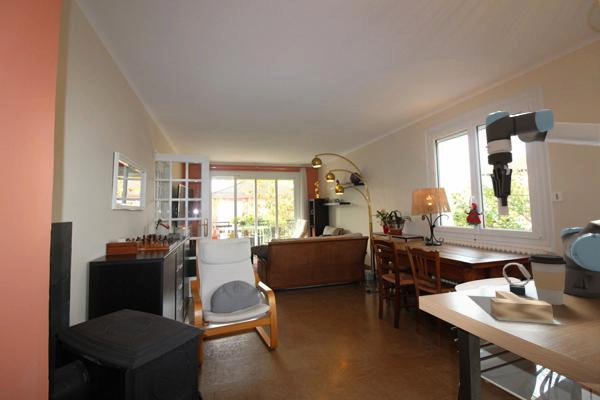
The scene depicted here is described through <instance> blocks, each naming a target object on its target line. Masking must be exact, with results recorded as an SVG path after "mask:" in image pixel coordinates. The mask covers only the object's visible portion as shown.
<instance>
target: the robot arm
mask: <svg viewBox="0 0 600 400" xmlns="http://www.w3.org/2000/svg"><path fill="white" fill-rule="evenodd" d="M554 119H555V117H554V111H553V110H552V109H550V108H547V109H538V110H536V111H534V110H533V111H530V112H525V113H520V114H515V115H510V113H509V111H506V110H503V111H496V112H492V113H489V114H488V115H487V116H486V117H485V137H486V146H485V148H486V149H487V164H488V165H489V166H493V167H492V173H490V175H489V176H490V178H491V183H492V184H491V185H492V190H493V194H494V197H495V198H497V199H496V200H497V209H498V210H497V211H498V216H509V215H510V213H509V202H508V201H509V200H508V198H509V196H511V192H512V191H511V190H512V174H513V168H509V164H511V163H512V162H513V153H512V151H513V145H512V144H513V143H512V139H511V137H516V136H517V138H518V140H520V141H521V142H523V143H526V144H527V143H528V144H531V143H534V142H539V143H544V142H545V143H552V144H553V143H554V144H555V143H557V144H568V145H569V144H570V145H581V146H583V145H584V146H596V147H600V123H588V122H587V123H584V122H582V123H581V122H563V121H562V122H561V121H560V122H559V121H557V122H556V121H555V120H554ZM560 238H561V245H562V257H563V259H564V260H565V261H566V263H567V264H565V287H564V294H565V293H566V294H569V295H573V296H577V297H583V298H584V297H585V298H588V299H589V298H591V299H598V298H600V219H598V220H591V221H589V222H588V223H587V224H586V225H585V226H584V227H569V228H567V227H566V228H564V229H562V230H561V234H560Z"/></svg>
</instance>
